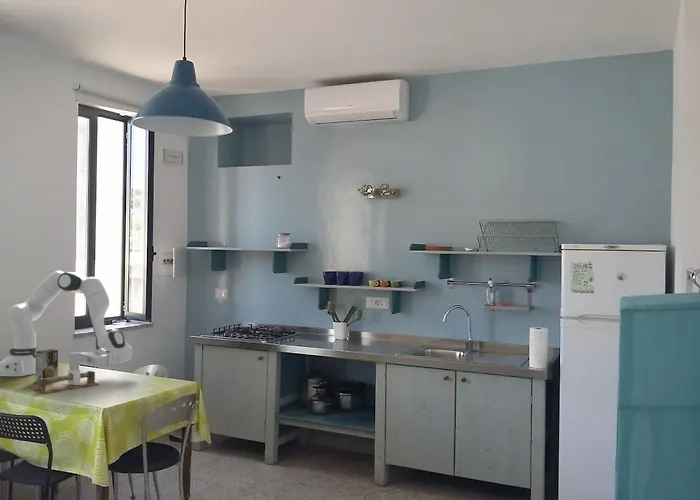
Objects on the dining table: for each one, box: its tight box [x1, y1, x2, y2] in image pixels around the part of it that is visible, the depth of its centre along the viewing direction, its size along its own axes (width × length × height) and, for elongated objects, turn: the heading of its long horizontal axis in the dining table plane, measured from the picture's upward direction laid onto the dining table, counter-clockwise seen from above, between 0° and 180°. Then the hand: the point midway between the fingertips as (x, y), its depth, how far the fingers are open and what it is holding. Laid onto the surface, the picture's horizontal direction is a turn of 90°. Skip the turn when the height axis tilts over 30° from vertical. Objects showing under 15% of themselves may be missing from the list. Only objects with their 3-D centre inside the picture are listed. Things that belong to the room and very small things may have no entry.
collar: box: [67, 351, 81, 385], centre depth 325 cm, size 3×7×16 cm, turn 49°
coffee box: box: [34, 348, 59, 383], centre depth 336 cm, size 9×6×16 cm
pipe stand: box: [32, 370, 100, 395], centre depth 322 cm, size 28×12×6 cm, turn 139°
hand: (77, 359), depth 326 cm, fingers closed, pressing on collar
